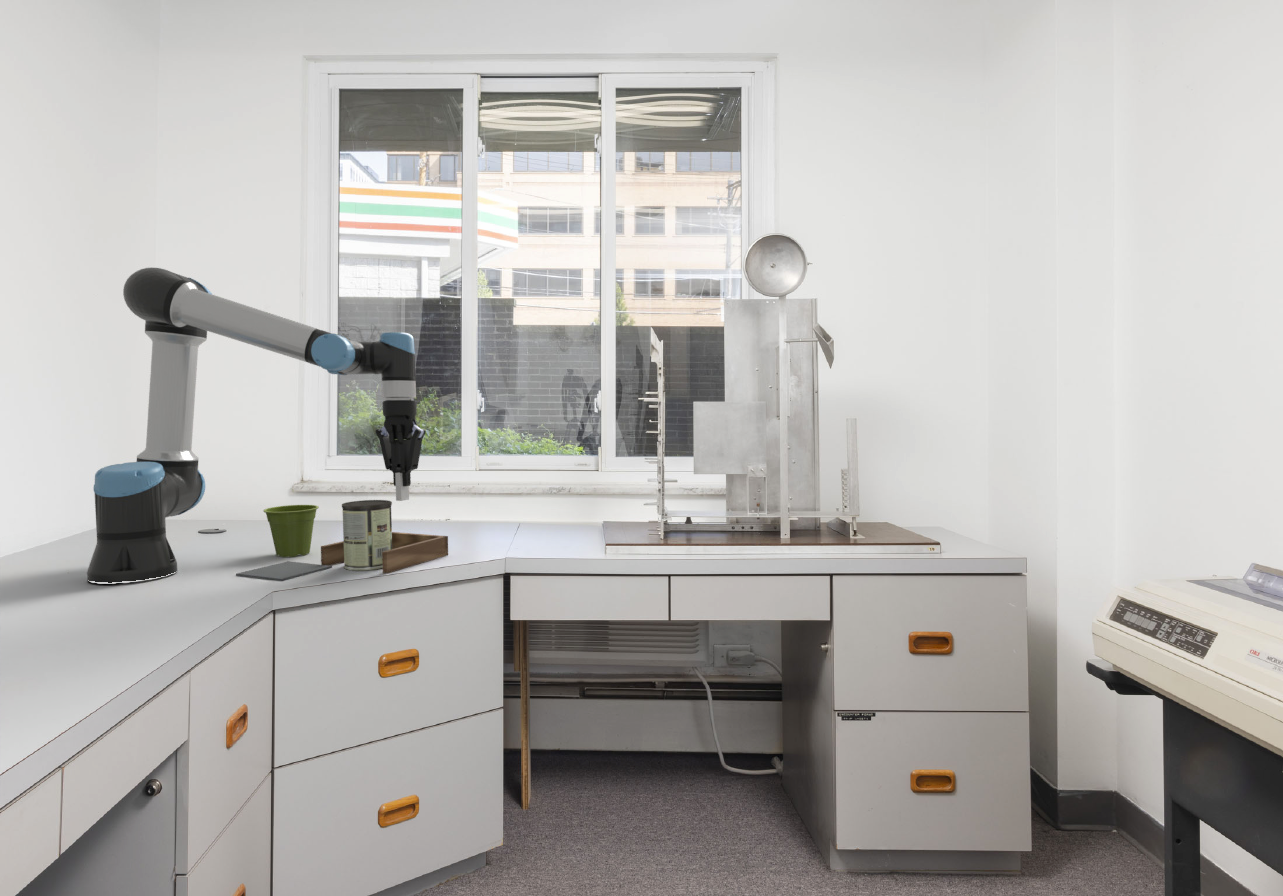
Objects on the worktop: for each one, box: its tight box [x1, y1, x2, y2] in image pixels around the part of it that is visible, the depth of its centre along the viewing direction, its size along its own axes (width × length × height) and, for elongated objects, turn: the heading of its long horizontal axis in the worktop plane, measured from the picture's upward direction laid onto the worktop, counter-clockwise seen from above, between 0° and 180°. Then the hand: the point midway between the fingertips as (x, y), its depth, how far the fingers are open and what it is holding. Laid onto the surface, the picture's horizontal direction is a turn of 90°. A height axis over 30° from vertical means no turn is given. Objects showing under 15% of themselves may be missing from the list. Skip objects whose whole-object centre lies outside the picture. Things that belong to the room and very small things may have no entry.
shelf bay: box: [320, 531, 449, 574], centre depth 162 cm, size 18×20×4 cm
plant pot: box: [262, 504, 319, 558], centre depth 169 cm, size 12×12×11 cm
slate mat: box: [235, 560, 333, 582], centre depth 151 cm, size 13×13×1 cm
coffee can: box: [341, 499, 393, 572], centre depth 156 cm, size 10×10×14 cm
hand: (402, 499), depth 166 cm, fingers closed
